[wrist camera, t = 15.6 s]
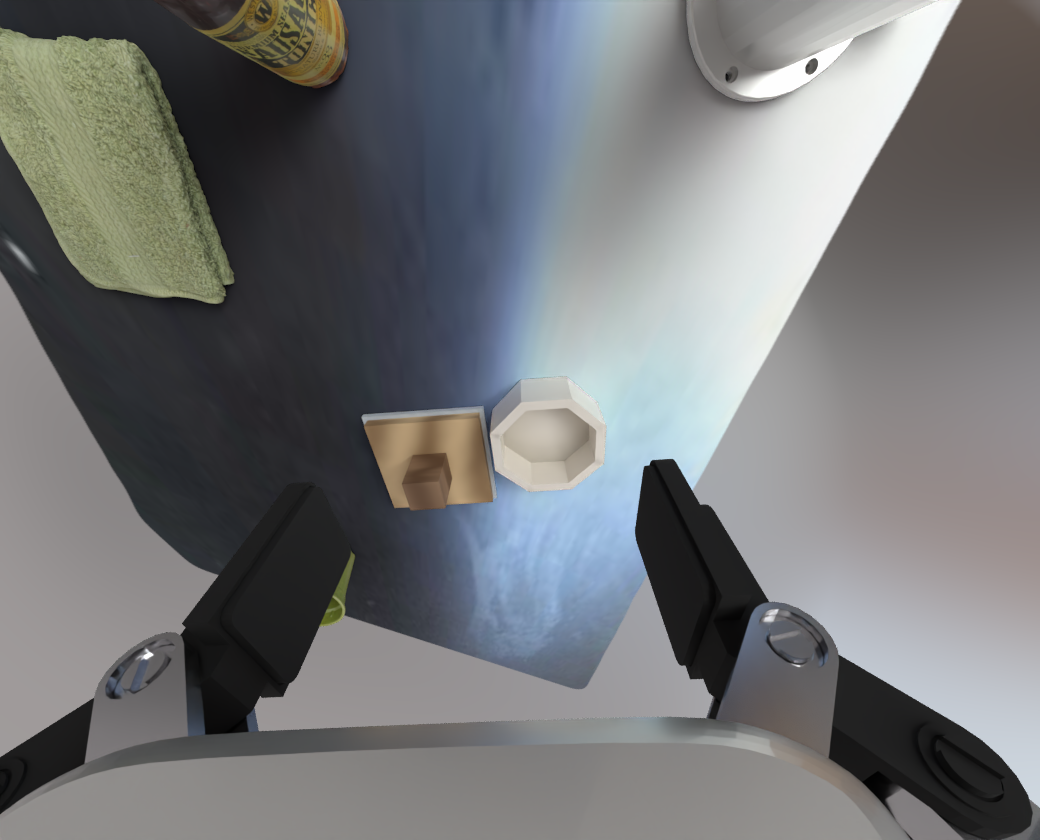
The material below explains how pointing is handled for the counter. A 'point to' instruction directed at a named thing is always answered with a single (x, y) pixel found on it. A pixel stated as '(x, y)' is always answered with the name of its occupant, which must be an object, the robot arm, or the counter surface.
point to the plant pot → (338, 597)
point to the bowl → (547, 434)
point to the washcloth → (109, 166)
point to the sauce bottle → (275, 34)
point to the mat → (443, 412)
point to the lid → (432, 460)
